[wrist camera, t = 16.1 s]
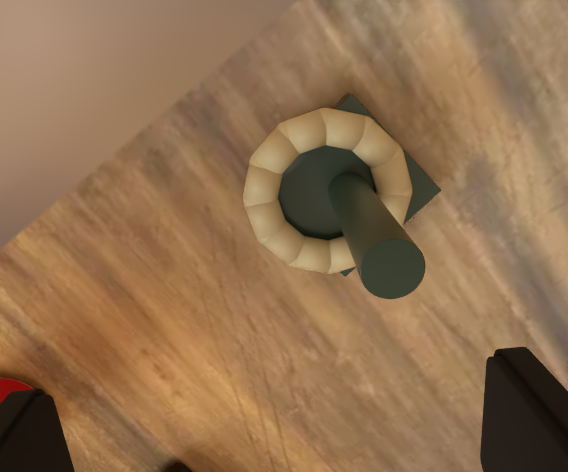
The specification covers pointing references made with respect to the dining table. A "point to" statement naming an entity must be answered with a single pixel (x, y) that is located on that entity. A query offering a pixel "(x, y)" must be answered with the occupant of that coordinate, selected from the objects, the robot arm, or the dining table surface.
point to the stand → (356, 212)
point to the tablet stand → (178, 468)
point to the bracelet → (304, 137)
